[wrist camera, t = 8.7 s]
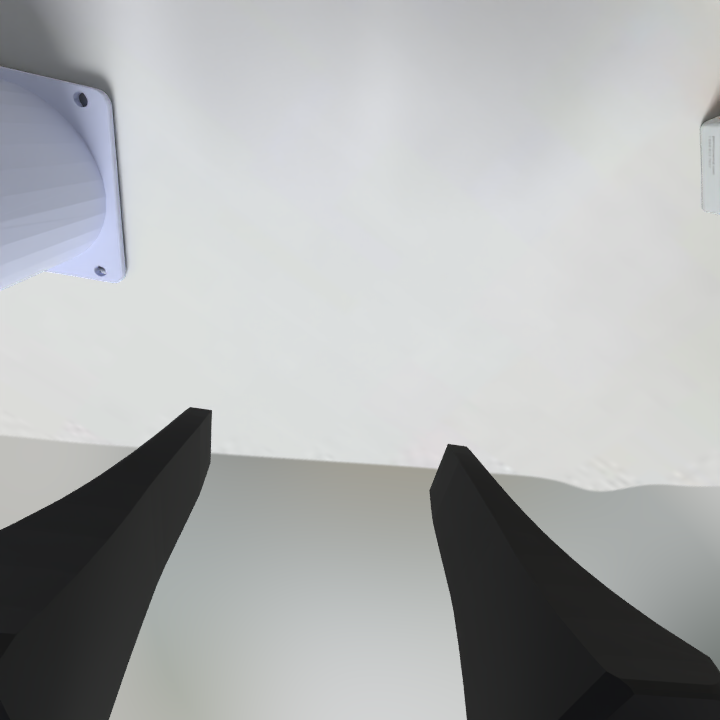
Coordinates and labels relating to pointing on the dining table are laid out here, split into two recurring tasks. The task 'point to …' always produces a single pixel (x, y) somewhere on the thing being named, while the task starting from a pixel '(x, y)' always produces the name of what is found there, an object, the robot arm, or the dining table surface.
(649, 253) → the dining table surface
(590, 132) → the dining table surface
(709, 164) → the skincare box
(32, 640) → the robot arm
